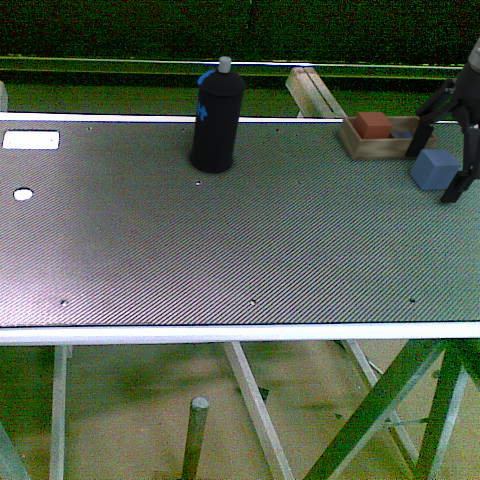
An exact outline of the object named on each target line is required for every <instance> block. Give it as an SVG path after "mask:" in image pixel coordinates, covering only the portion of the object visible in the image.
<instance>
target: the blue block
mask: <svg viewBox="0 0 480 480" xmlns="http://www.w3.org/2000/svg"><path fill="white" fill-rule="evenodd" d="M461 167H462V164H461V163H460V161H459V160H458V159H457V158H456V157H455V156H454V155H453V154H452V153H451V151H449V149H448V148H438V149H437V148H436V149H435V148H434V149H422V150H421V152H420V154H419V156H418V158H416V160H415V162H414V164H413V165H412V167H411V168H410V171H409V175H410V176H411V178H412V179H413V180H414V181H415V183H416V184H417V186H418V187H419V189H420V190H421V191H429V190H431V191H432V190H434V191H435V190H446V189H447V187H448V186H449V184H450V183H451V181H452V179H453V178H454V176H455V175H456V173H457V171H460V169H461Z"/></svg>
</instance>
